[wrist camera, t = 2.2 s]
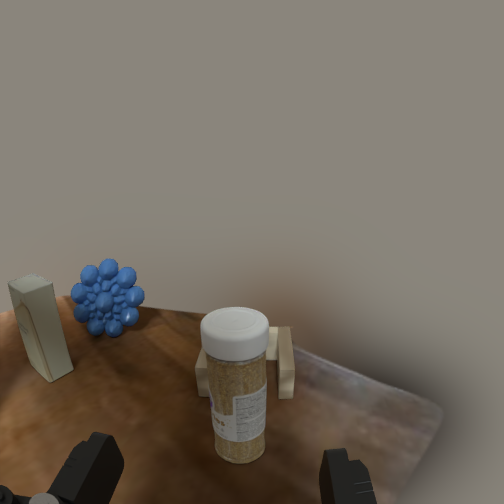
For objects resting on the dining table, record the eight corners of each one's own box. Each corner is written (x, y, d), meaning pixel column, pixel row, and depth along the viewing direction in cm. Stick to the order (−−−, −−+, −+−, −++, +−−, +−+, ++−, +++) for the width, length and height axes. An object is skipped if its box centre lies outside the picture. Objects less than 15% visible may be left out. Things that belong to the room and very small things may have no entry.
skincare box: (30, 365, 32) (5, 282, 29) (54, 353, 36) (32, 272, 33) (51, 384, 30) (21, 293, 26) (77, 369, 33) (53, 281, 30)
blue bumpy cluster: (153, 322, 47) (144, 248, 44) (149, 344, 41) (136, 262, 38) (87, 323, 45) (73, 253, 42) (75, 344, 39) (56, 266, 36)
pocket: (198, 396, 31) (194, 367, 30) (211, 352, 40) (209, 325, 38) (292, 398, 30) (295, 369, 29) (288, 353, 39) (289, 326, 38)
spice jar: (207, 438, 25) (191, 311, 21) (252, 424, 27) (250, 299, 23) (227, 472, 21) (213, 343, 17) (275, 455, 23) (282, 325, 19)
